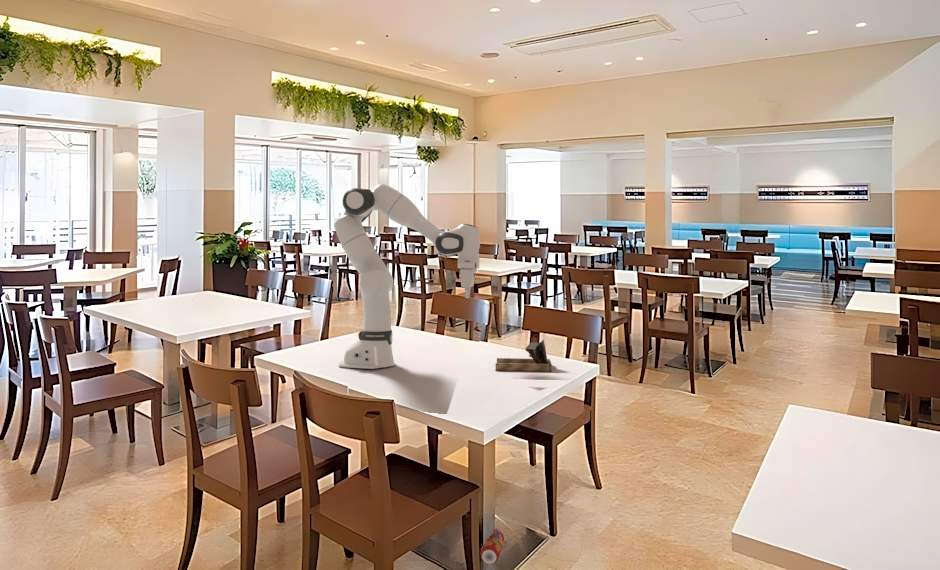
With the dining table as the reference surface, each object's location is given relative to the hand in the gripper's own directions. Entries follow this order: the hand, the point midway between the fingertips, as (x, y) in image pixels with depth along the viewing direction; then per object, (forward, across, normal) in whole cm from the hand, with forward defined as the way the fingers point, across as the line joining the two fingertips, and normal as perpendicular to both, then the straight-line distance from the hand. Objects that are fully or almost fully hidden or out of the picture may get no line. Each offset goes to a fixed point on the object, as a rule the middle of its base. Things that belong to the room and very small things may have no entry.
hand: (467, 298), depth 252 cm
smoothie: (+91, +32, +13) cm, 97 cm away
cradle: (+28, 0, +24) cm, 36 cm away
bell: (+28, -2, +28) cm, 40 cm away
